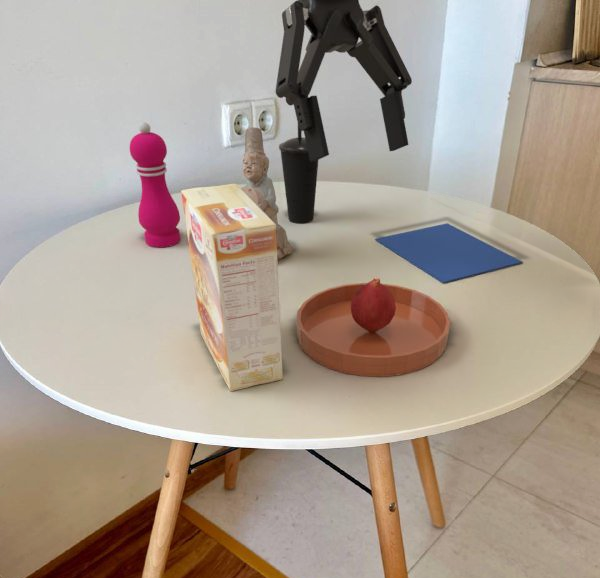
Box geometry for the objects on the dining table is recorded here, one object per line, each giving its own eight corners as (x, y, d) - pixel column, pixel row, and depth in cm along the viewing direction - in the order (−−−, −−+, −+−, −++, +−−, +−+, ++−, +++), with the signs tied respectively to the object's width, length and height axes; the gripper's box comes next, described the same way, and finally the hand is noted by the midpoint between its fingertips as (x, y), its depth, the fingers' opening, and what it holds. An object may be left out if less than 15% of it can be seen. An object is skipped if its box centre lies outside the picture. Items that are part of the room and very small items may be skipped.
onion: (344, 338, 78) (346, 283, 74) (357, 318, 83) (359, 265, 78) (387, 346, 77) (391, 290, 72) (397, 325, 81) (403, 271, 76)
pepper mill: (157, 231, 111) (138, 116, 99) (190, 236, 109) (175, 119, 97) (135, 245, 106) (111, 125, 94) (169, 251, 104) (149, 129, 92)
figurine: (258, 242, 106) (251, 122, 94) (300, 250, 103) (297, 127, 91) (231, 260, 100) (219, 134, 88) (274, 270, 97) (268, 140, 85)
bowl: (478, 351, 76) (482, 332, 74) (343, 393, 69) (344, 373, 68) (392, 289, 91) (394, 272, 89) (273, 319, 84) (273, 301, 82)
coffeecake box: (199, 333, 81) (178, 189, 69) (248, 323, 83) (237, 181, 71) (228, 393, 70) (210, 233, 58) (285, 380, 72) (278, 222, 60)
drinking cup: (302, 209, 120) (300, 100, 108) (328, 219, 115) (330, 106, 103) (273, 219, 116) (268, 107, 104) (299, 229, 111) (297, 113, 99)
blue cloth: (522, 263, 97) (522, 261, 97) (443, 283, 92) (443, 281, 92) (447, 224, 112) (447, 223, 112) (375, 240, 106) (375, 238, 106)
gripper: (377, -15, 78) (407, 152, 83) (216, -28, 65) (263, 172, 70) (419, -46, 72) (449, 135, 77) (251, -68, 59) (300, 153, 64)
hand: (361, 153), depth 73 cm, fingers open, 13 cm apart
